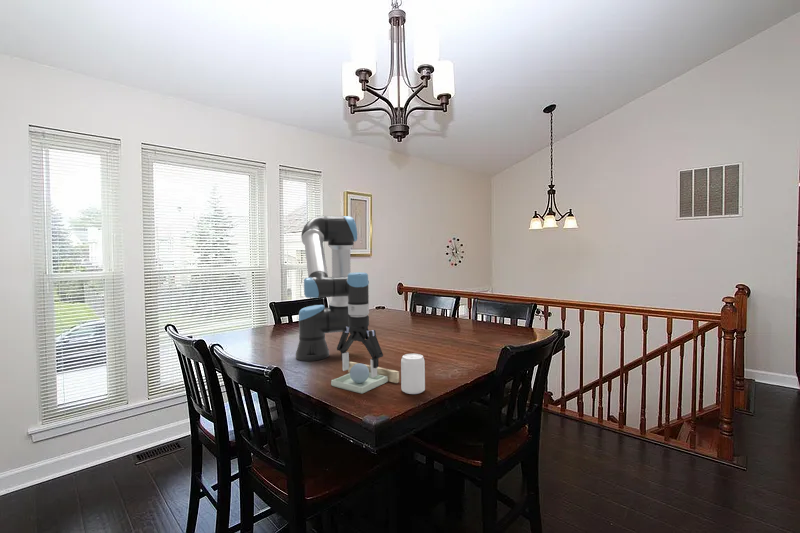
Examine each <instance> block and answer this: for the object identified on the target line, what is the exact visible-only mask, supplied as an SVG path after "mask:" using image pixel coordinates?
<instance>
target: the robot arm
mask: <svg viewBox="0 0 800 533" xmlns="http://www.w3.org/2000/svg"><path fill="white" fill-rule="evenodd" d="M301 230H302V231H301V235H300V236H301V242H302V244H303V246H304V249H305V251H304V252H305V259H306V268H307V277H306V278H304V279H303V295H304V297H305V298H307V299H309V298H310V299H311V298H313V299H314V298H315V299H320V298H332V300H331V301H330V302H329V303H328V307H325V305H324V304H314V305H309V306H306V307H305V306H304V307H303V308H301V309H300V310H299V311H298V320H297V321H298V338H299V339H298V344H297V350H296V351H295V359H296V360H298V361H303V362H304V361H305V362H306V361H307V362H309V361H310V362H314V361H319V360H325V359H327V358H329V357H330V350H329V346H328V344H327V340H326V334H332V333H341V335H340V337H339V338H340V339H339V342H338V344H337V347H336V350H337V351H339V352H340V357H341V360H340V361H341V362H342V371H343V372H345V371H348V369H349V362H350V357H349V356H350V355H349V354H350V353H349V352H350V351H349V348H350V347H351V346H352V344H353V343H354V342H356V341H357V342H361V343H362V344H363V345H364V347H365V348H366V350H367V352H368V354H369V356H370V357H371V358H370V365H371V378H373V377H375V376H377V367H380V366H379V359H380V358H382V357H384V354H383V350H382V348H381V345H380V343H379V341H378V338H377V333H376V332H377V331H376V330H375V329H371V330H369V326H370V316H369V314H370V306H369V305H370V301H369V296H370V295H369V292H370V291H369V284H370V282H369V275H368V273H367V272H351V249H352V248H353V247H354V245H355V244H354V243H356V242H357V241H358V229H357V224H356V221H355V218H353V216H347V215H317V216H315V217H312V218H311V219H309V220H308V222H306V223H305V225H304V226H303V228H302V229H301ZM324 242H327V245H328V247H329V248H330V250H331V276H329V272H328V269H327V268H328V267H327V262H326V256H325V255H326V254H325V249H324Z"/></svg>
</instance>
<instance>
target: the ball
mask: <svg viewBox="0 0 800 533" xmlns="http://www.w3.org/2000/svg"><path fill="white" fill-rule="evenodd" d="M357 363H358V364H355V365H354V366H353V367H352V368H351V370H350V377H351V379H352V380H353V381H354V382H356V383H363V382H365V381H366V380H367V379H368V377H369V369H368V367H367V366H366V365H367V364H366V365H364V363H361V362H360V363H359V362H357Z"/></svg>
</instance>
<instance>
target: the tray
mask: <svg viewBox="0 0 800 533" xmlns="http://www.w3.org/2000/svg"><path fill="white" fill-rule="evenodd" d="M388 382H389V381H388V376H383V375H379V374H377V376H375V377H373V378H371V373H370V372H369V377H368V379H367V380H366V381H365V382H363V383H356V382H354V381H353V380H352V379H351V377H350V373H349V372H348V373H346V374H344V375H342V376H339V377H337V378H334V379H333V378H332V379H331V381H330V386H331V387H334V388H339V389H343V390H345V391H350V392H354V393H357V394H361V395H362V394H363V395H364V393H367V392H369V391H370V390H373V389H375V388H378V387H380V386H381V385H384V384H385V383H388Z"/></svg>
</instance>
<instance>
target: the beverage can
mask: <svg viewBox="0 0 800 533" xmlns="http://www.w3.org/2000/svg"><path fill="white" fill-rule="evenodd" d="M425 363H426V362H425V358H424V355H422V354H420V353H406V354H404V355H402V357H401V360H400V380H401V381H400V384H401V385H400V386H401V389H400V390H401V391H402V392H403V393H405V394H409V395H419V394H421V393H424V392H425V390H426V370H425V368H426V366H425V365H426V364H425Z"/></svg>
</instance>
